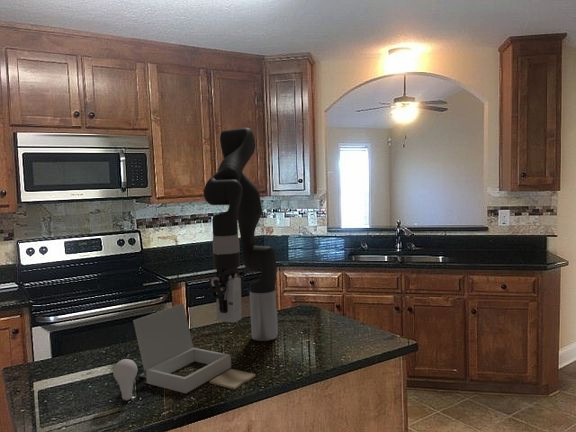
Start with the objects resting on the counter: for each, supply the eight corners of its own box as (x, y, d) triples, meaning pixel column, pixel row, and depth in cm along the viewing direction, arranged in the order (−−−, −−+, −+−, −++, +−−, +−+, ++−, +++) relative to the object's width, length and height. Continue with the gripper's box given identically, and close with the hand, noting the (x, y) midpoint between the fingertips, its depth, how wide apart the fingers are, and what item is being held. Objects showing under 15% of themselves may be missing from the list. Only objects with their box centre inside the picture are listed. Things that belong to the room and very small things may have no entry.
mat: (231, 370, 147) (230, 368, 147) (255, 376, 142) (255, 374, 142) (209, 383, 138) (209, 381, 138) (234, 389, 134) (234, 387, 134)
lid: (193, 347, 157) (190, 347, 158) (183, 303, 157) (180, 303, 158) (145, 369, 140) (142, 370, 141) (134, 320, 140) (131, 320, 141)
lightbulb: (142, 394, 133) (139, 355, 132) (135, 404, 127) (133, 363, 126) (119, 395, 133) (116, 356, 132) (112, 406, 127) (109, 364, 126)
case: (194, 359, 157) (193, 347, 157) (231, 367, 149) (230, 354, 149) (146, 383, 140) (145, 369, 140) (185, 393, 132) (185, 379, 132)
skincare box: (216, 320, 139) (214, 278, 138) (225, 316, 143) (223, 275, 142) (234, 323, 136) (231, 280, 135) (243, 318, 140) (241, 277, 139)
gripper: (231, 246, 145) (234, 303, 147) (199, 254, 133) (202, 315, 135) (251, 247, 142) (254, 305, 143) (220, 255, 129) (223, 318, 131)
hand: (229, 310), depth 139 cm, fingers closed on skincare box, 4 cm apart
